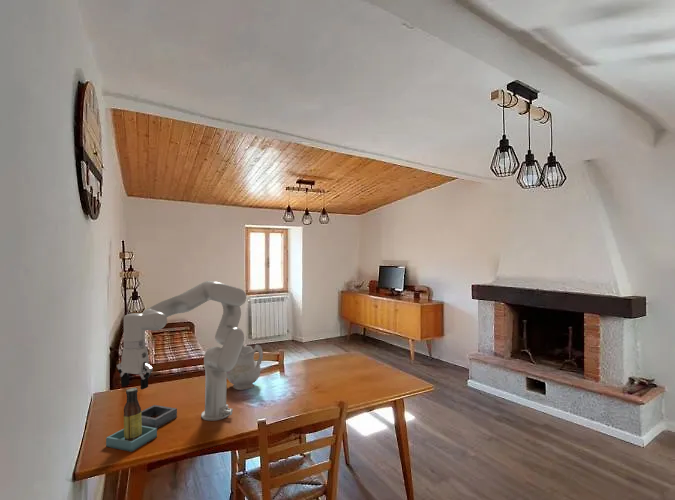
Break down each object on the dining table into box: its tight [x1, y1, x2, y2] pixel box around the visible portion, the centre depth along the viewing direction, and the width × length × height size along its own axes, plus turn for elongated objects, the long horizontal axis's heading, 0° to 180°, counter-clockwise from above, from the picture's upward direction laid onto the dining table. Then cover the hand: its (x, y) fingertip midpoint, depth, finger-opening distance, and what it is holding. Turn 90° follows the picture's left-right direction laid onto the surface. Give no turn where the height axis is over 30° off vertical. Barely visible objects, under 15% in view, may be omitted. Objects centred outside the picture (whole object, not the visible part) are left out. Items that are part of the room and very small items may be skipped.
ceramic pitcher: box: [226, 344, 264, 391], centre depth 216 cm, size 22×20×25 cm
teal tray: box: [105, 426, 158, 453], centre depth 150 cm, size 13×13×4 cm
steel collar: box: [141, 404, 178, 429], centre depth 169 cm, size 13×13×4 cm
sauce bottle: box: [123, 387, 142, 441], centre depth 150 cm, size 6×6×20 cm
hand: (134, 387), depth 151 cm, fingers open, 9 cm apart
